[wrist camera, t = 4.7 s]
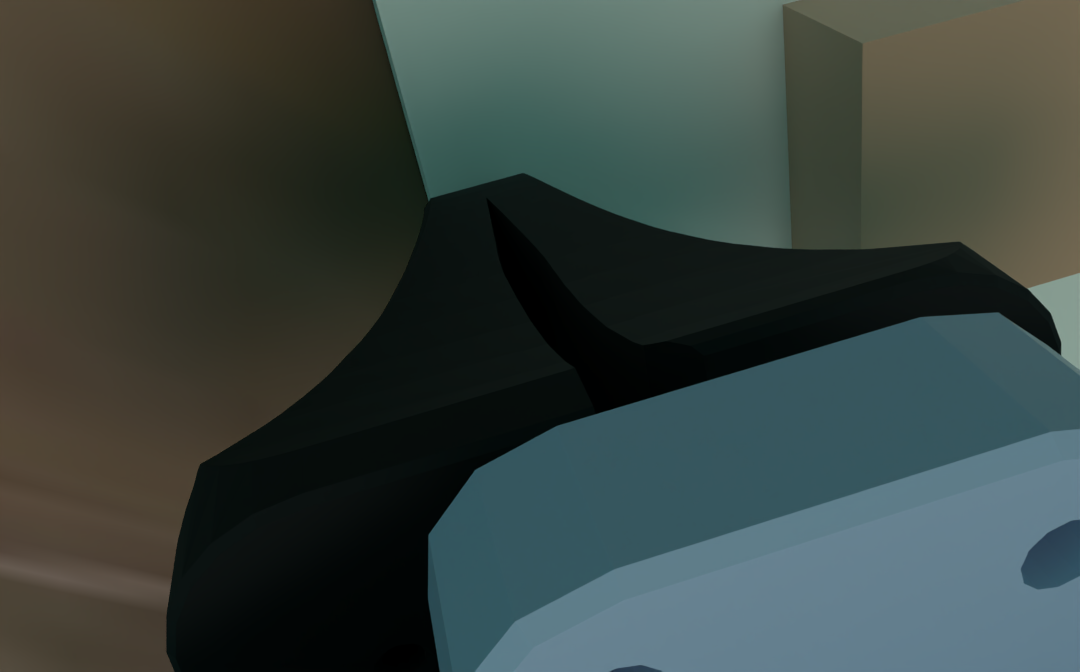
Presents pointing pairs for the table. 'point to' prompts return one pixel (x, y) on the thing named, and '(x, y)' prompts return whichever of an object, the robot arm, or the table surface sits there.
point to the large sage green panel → (618, 111)
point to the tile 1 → (937, 128)
